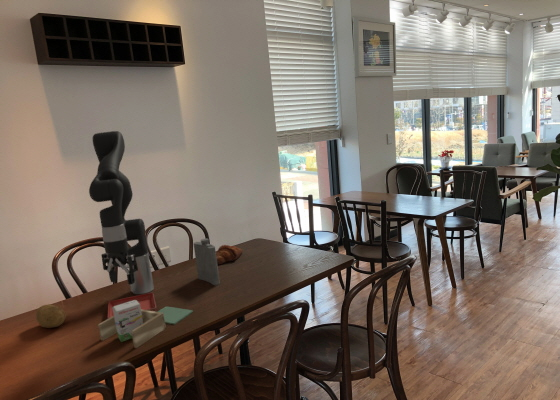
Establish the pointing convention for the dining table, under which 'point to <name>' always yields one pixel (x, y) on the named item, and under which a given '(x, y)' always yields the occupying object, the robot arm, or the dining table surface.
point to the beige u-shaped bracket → (141, 334)
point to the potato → (50, 316)
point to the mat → (174, 314)
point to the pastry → (227, 254)
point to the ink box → (127, 319)
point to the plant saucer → (144, 300)
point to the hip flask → (206, 262)
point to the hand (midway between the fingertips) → (122, 282)
